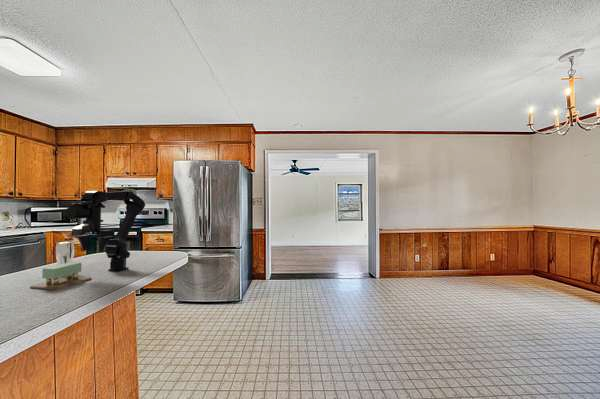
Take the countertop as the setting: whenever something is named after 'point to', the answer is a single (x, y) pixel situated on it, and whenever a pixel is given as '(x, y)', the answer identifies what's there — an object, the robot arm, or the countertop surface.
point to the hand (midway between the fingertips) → (92, 251)
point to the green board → (61, 270)
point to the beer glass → (64, 252)
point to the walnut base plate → (61, 282)
